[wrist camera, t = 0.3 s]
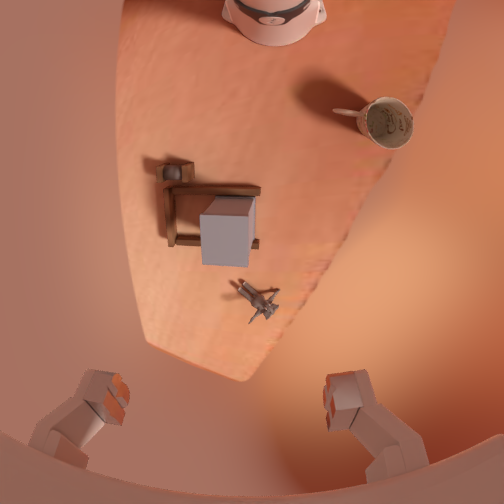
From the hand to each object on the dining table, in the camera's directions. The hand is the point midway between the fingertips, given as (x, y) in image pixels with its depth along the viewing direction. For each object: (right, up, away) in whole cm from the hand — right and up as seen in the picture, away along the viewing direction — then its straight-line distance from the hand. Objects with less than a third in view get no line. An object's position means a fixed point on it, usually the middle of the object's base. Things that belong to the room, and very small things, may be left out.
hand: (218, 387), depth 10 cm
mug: (+21, +29, +36) cm, 51 cm away
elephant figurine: (+3, -4, +54) cm, 54 cm away
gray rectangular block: (-2, +12, +46) cm, 48 cm away
